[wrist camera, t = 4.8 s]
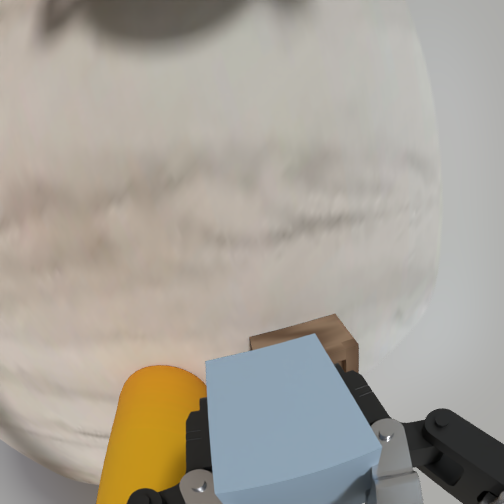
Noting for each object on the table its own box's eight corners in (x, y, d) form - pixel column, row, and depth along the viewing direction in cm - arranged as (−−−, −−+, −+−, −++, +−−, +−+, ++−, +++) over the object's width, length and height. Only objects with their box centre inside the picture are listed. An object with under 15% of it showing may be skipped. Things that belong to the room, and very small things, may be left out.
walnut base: (265, 397, 29) (274, 433, 24) (249, 337, 26) (258, 373, 21) (338, 375, 29) (357, 408, 25) (335, 313, 27) (358, 344, 22)
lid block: (232, 427, 13) (250, 534, 7) (205, 361, 11) (214, 493, 6) (321, 403, 13) (367, 501, 8) (314, 333, 12) (382, 446, 6)
